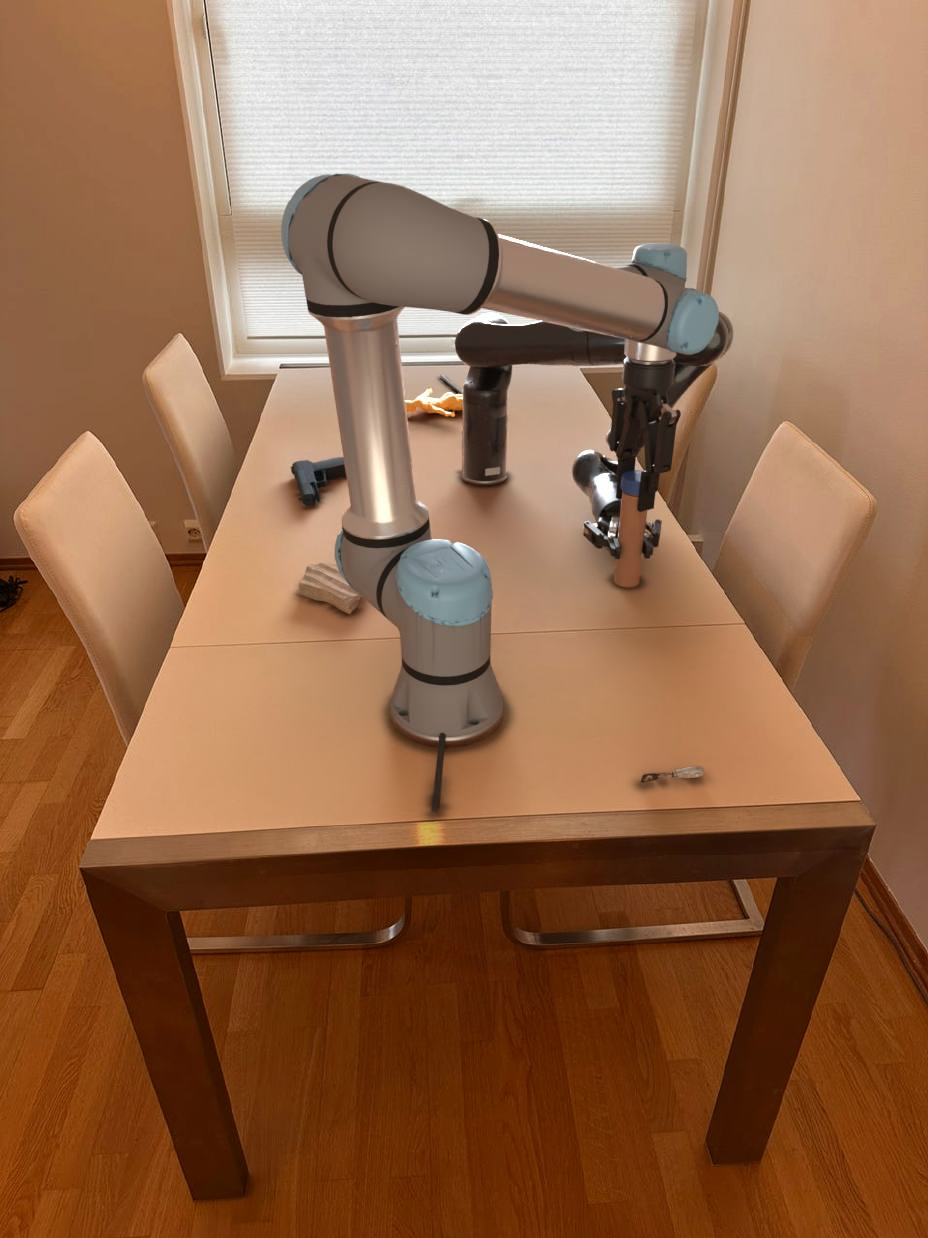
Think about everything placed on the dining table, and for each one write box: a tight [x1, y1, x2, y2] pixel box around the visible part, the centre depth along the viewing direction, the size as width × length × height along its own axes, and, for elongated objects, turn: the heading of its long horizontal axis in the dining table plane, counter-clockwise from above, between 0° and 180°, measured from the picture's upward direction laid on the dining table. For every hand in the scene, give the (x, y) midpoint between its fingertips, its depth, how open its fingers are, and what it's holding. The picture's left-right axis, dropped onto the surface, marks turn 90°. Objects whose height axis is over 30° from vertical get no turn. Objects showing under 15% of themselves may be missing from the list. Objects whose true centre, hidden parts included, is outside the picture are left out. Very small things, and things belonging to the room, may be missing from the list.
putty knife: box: [640, 765, 705, 784], centre depth 109 cm, size 1×8×2 cm, turn 103°
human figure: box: [405, 385, 462, 418], centre depth 225 cm, size 20×20×4 cm
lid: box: [620, 469, 643, 495], centre depth 142 cm, size 5×5×2 cm
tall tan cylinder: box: [613, 491, 648, 588], centre depth 146 cm, size 4×4×18 cm
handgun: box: [290, 456, 347, 507], centre depth 184 cm, size 3×18×12 cm
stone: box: [297, 562, 363, 615], centre depth 148 cm, size 13×12×2 cm
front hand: (634, 502), depth 144 cm, fingers closed on lid, 5 cm apart
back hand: (633, 553), depth 145 cm, fingers closed on tall tan cylinder, 4 cm apart
